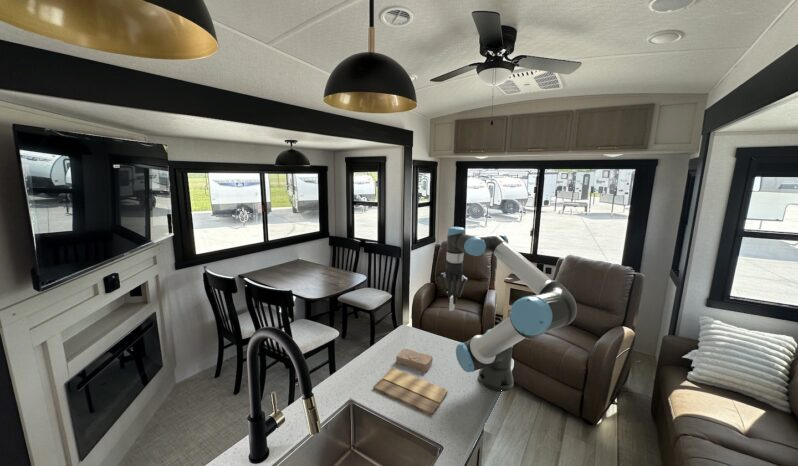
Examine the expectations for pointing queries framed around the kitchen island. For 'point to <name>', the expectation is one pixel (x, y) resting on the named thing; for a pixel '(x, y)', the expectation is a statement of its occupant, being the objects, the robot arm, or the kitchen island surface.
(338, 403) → the kitchen island surface
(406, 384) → the plank
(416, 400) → the laid row
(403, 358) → the brick
